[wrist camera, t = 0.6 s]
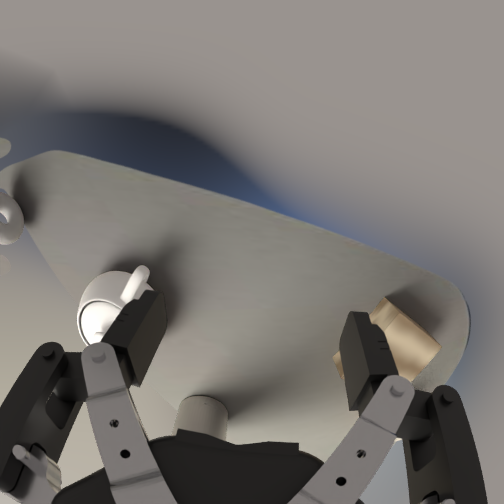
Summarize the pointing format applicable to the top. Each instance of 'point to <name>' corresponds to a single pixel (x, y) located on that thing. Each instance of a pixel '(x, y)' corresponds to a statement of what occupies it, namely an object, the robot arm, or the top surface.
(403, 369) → the pine box
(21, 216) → the donut
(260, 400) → the top surface
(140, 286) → the teapot
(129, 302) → the robot arm
